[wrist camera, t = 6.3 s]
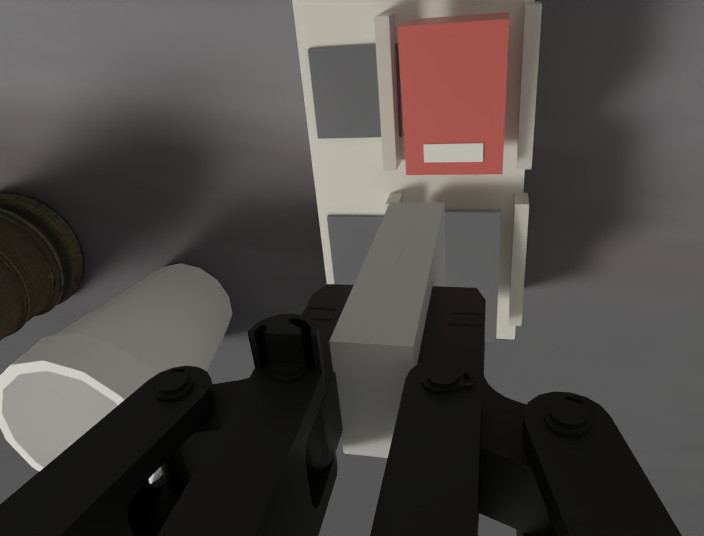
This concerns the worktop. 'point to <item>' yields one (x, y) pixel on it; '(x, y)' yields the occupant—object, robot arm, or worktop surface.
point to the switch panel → (388, 134)
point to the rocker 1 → (454, 93)
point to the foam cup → (110, 359)
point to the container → (34, 261)
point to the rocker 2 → (475, 256)
